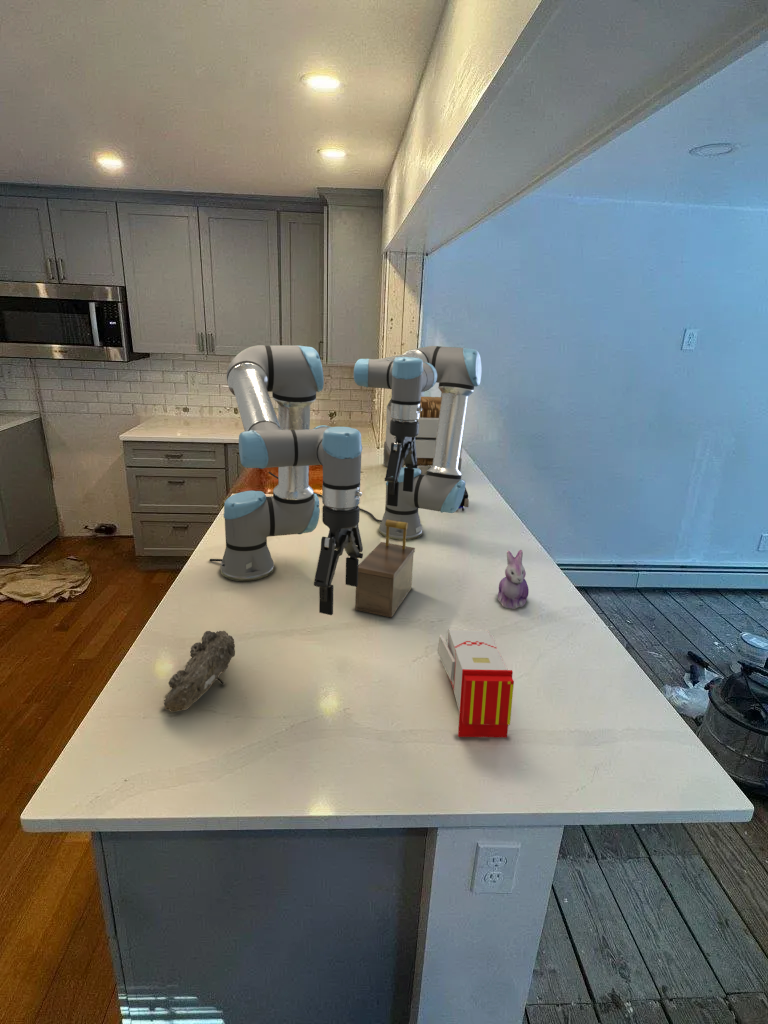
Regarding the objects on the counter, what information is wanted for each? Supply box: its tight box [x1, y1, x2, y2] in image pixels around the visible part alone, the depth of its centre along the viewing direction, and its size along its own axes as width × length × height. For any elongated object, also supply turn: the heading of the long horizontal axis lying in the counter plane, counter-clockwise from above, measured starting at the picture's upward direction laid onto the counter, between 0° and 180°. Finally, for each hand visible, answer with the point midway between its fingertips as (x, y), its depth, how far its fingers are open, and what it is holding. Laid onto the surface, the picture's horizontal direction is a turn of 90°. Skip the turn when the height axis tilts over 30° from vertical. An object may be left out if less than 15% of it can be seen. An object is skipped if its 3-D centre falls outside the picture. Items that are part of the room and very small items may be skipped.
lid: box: [358, 520, 416, 579], centre depth 150 cm, size 18×10×9 cm, turn 161°
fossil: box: [163, 630, 236, 713], centre depth 116 cm, size 22×10×15 cm
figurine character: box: [458, 486, 470, 512], centre depth 229 cm, size 7×8×15 cm
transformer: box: [383, 391, 465, 474], centre depth 268 cm, size 34×33×41 cm
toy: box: [437, 628, 515, 738], centre depth 117 cm, size 12×13×30 cm
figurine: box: [497, 549, 530, 610], centre depth 154 cm, size 9×10×15 cm
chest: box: [354, 552, 415, 618], centre depth 153 cm, size 18×10×11 cm, turn 161°
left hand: (339, 598), depth 122 cm, fingers open, 13 cm apart
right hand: (400, 498), depth 153 cm, fingers open, 13 cm apart
